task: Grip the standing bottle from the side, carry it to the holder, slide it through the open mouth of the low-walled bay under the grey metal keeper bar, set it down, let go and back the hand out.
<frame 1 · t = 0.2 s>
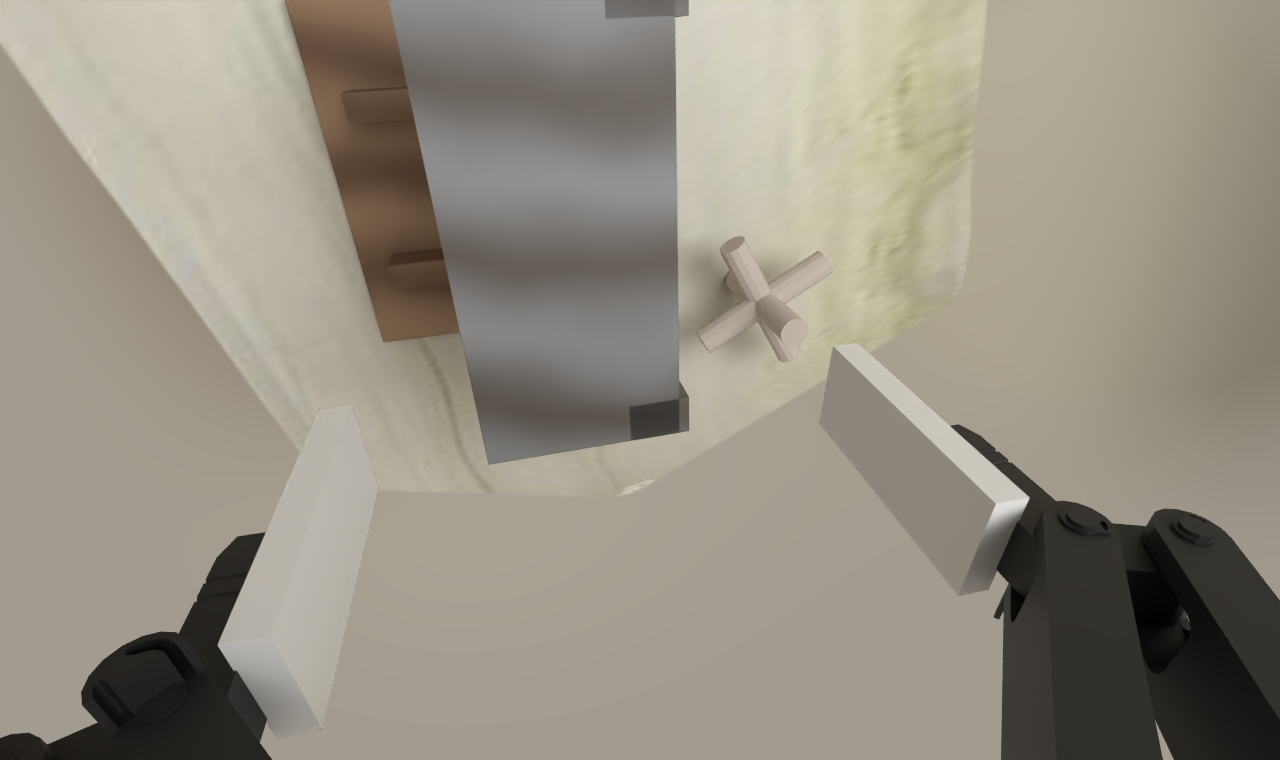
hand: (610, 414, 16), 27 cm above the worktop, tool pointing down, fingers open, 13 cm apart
keeper holder: (492, 176, 38), on the worktop
pipe connector: (735, 277, 46), on the worktop
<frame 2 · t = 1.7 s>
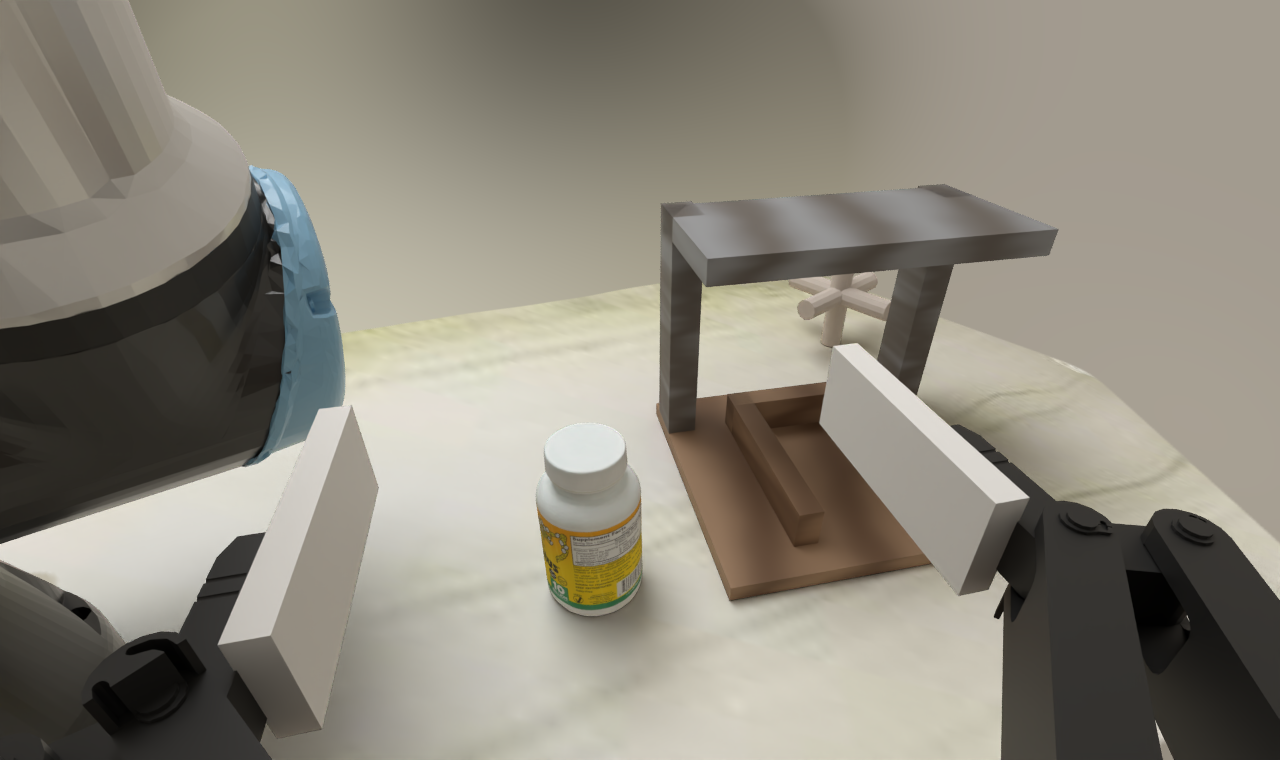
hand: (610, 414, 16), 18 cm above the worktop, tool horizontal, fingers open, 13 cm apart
keeper holder: (824, 469, 42), on the worktop
pipe connector: (830, 344, 57), on the worktop
supplement bottle: (595, 581, 34), on the worktop
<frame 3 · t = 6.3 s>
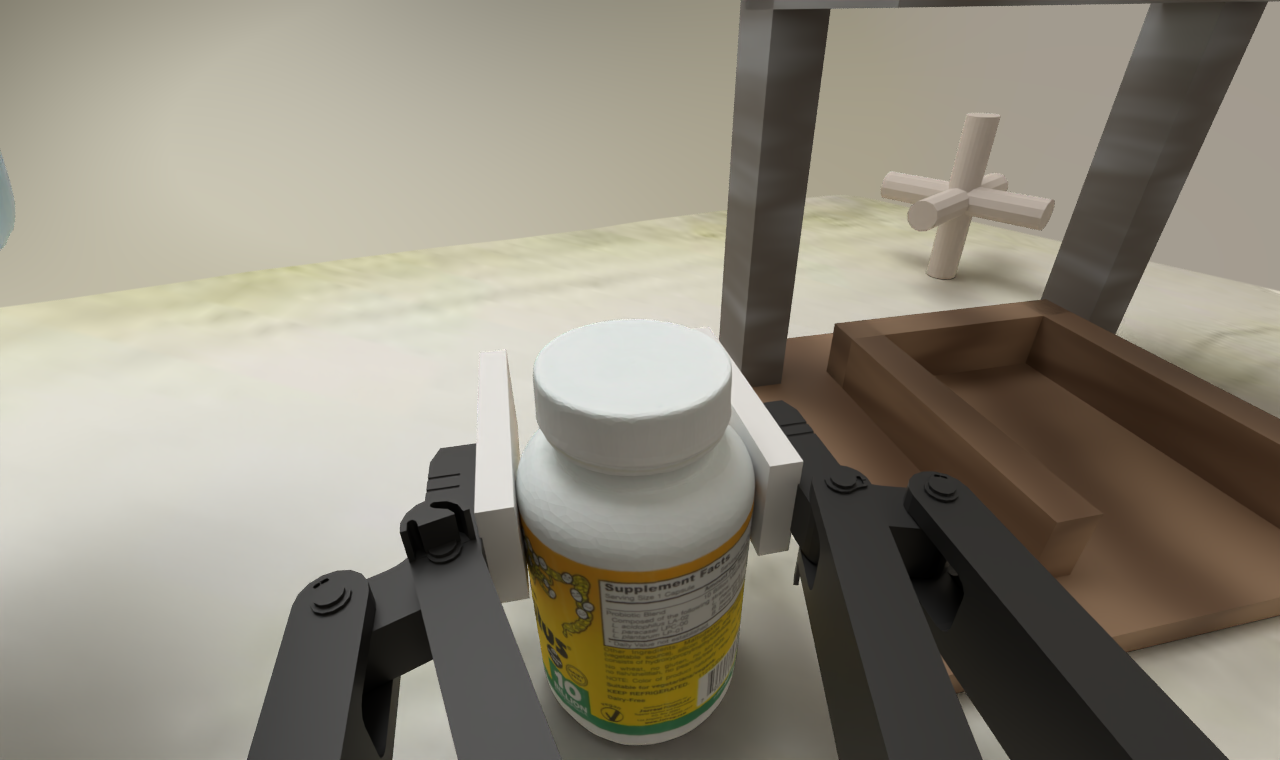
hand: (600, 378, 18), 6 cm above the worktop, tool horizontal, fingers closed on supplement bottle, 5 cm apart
keeper holder: (1006, 442, 25), on the worktop
pipe connector: (940, 276, 41), on the worktop
supplement bottle: (638, 657, 17), on the worktop, touching gripper
when the fingers open (8 cm above the worktop, at t = 13.8 s): supplement bottle drops 1 cm, resting on keeper holder.
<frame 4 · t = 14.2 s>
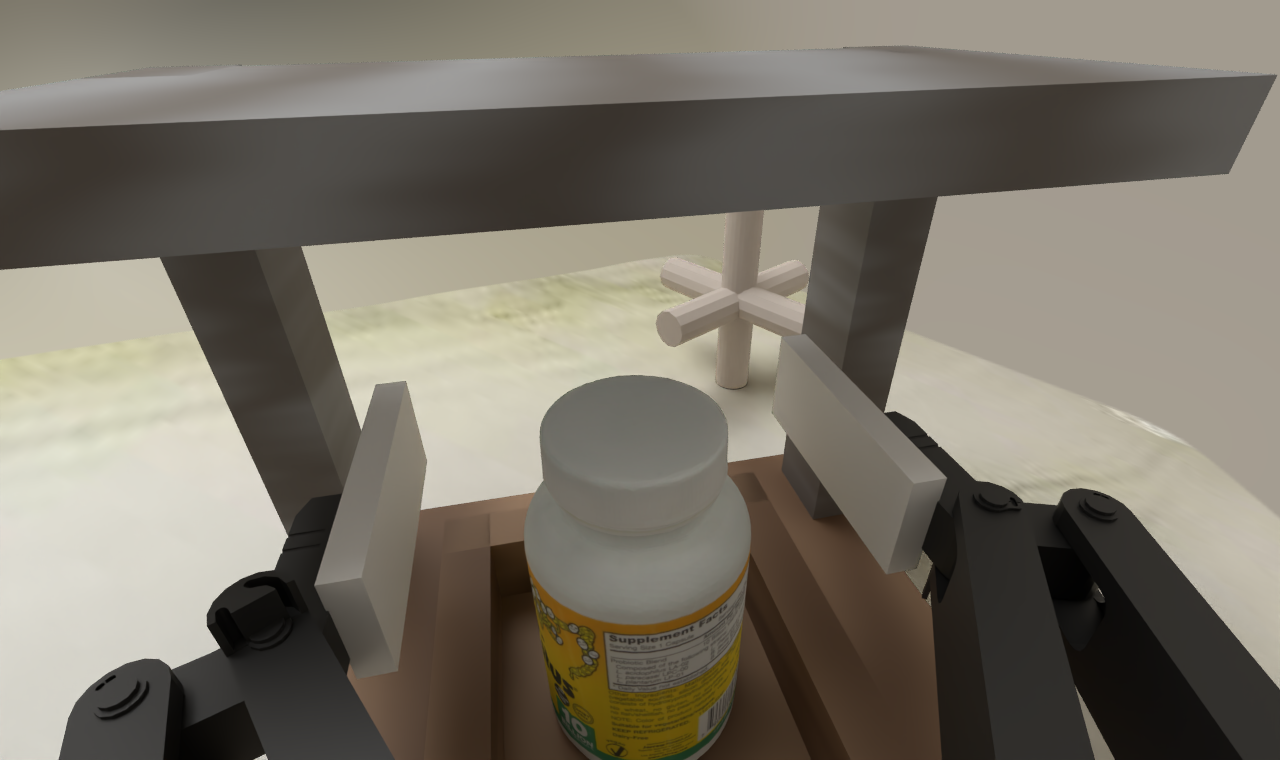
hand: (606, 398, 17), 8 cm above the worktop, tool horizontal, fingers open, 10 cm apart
keeper holder: (640, 701, 18), on the worktop
pipe connector: (731, 383, 34), on the worktop
supplement bottle: (642, 688, 18), point 1 cm above the worktop, touching keeper holder
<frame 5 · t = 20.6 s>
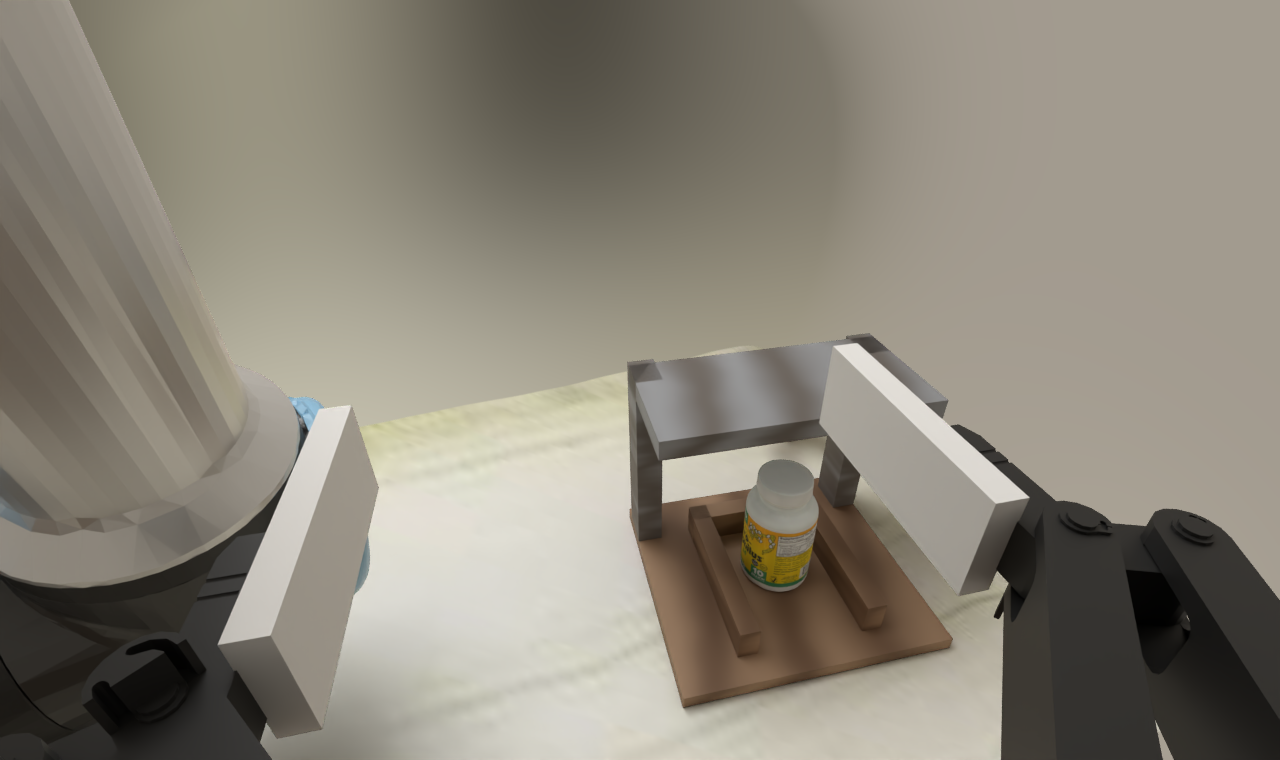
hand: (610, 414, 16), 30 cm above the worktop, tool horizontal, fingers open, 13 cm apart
keeper holder: (770, 574, 49), on the worktop
supplement bottle: (772, 568, 48), point 1 cm above the worktop, touching keeper holder
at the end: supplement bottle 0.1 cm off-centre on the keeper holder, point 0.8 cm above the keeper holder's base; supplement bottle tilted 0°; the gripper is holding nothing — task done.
